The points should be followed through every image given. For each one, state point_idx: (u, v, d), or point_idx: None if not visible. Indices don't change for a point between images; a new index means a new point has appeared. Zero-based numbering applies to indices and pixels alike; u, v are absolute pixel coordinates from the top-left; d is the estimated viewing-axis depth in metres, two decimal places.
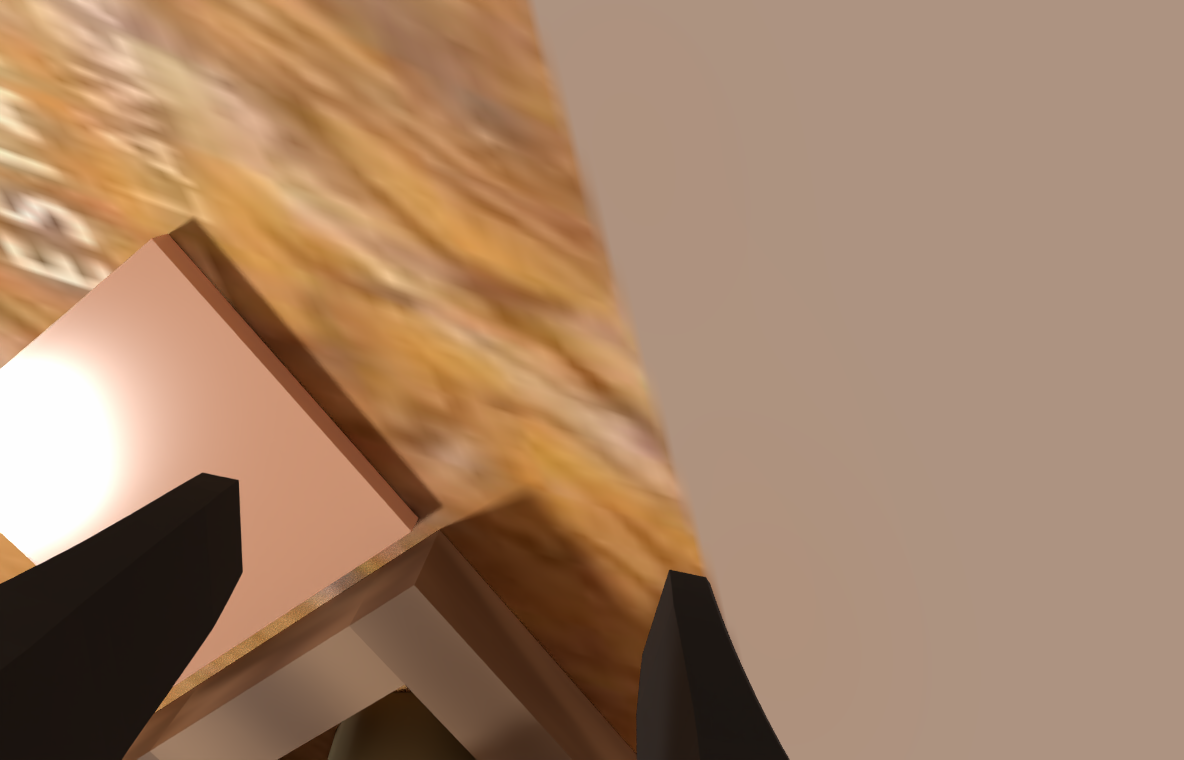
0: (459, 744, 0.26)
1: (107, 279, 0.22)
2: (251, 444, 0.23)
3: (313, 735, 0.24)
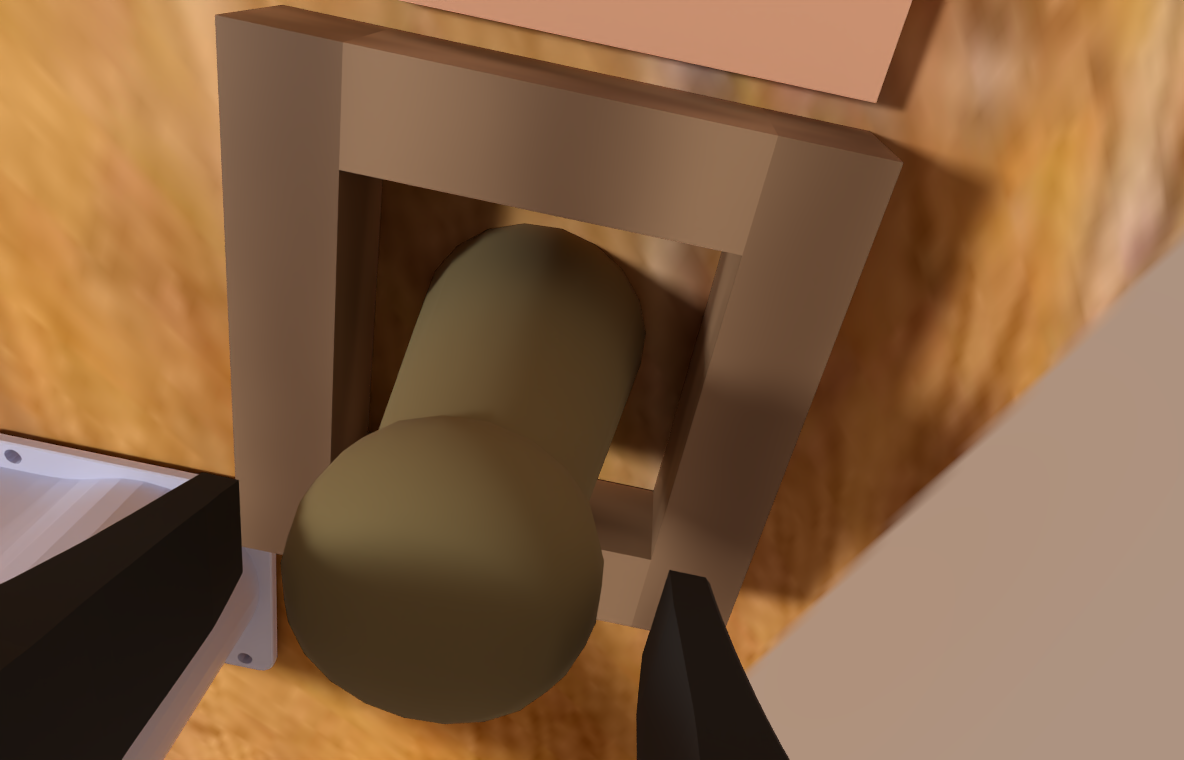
0: (636, 360, 0.20)
1: None
2: None
3: (570, 214, 0.16)
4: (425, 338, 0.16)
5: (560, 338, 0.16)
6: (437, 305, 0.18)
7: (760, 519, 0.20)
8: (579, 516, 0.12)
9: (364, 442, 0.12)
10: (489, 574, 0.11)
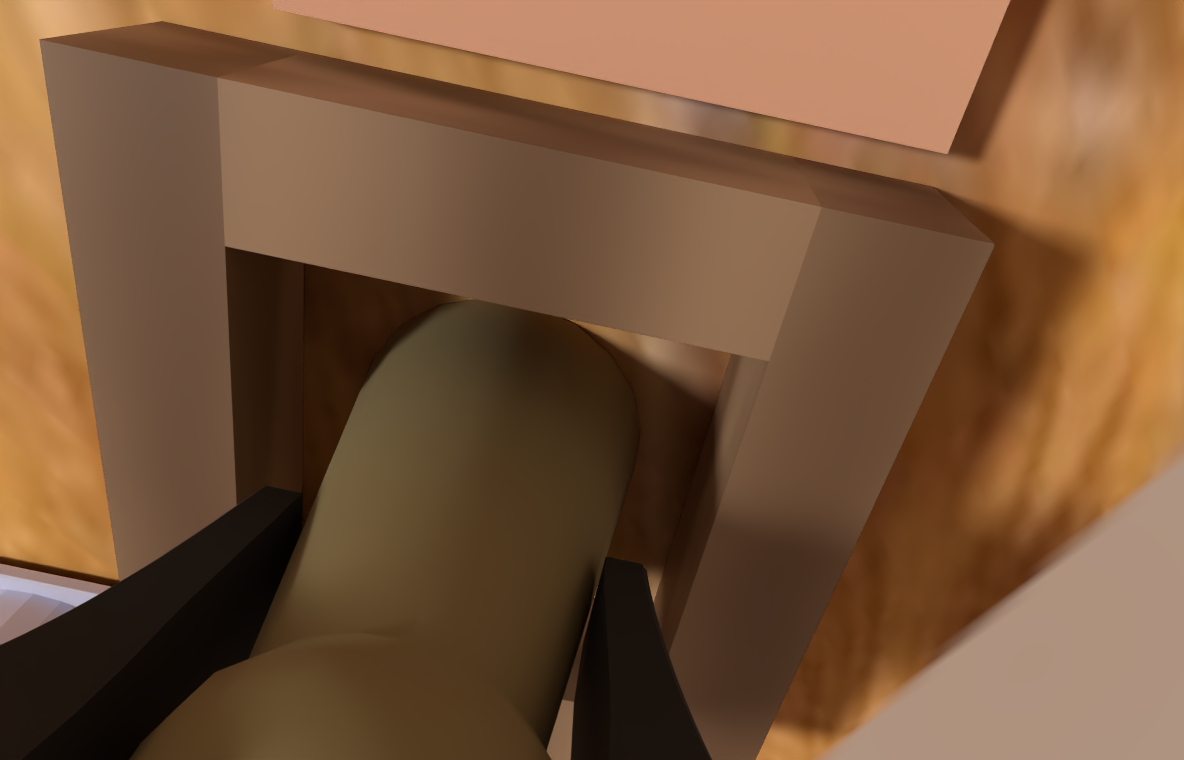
0: (629, 471, 0.16)
1: None
2: None
3: (536, 306, 0.12)
4: (341, 473, 0.12)
5: (522, 476, 0.12)
6: (364, 418, 0.13)
7: (786, 675, 0.15)
8: None
9: (204, 701, 0.08)
10: None
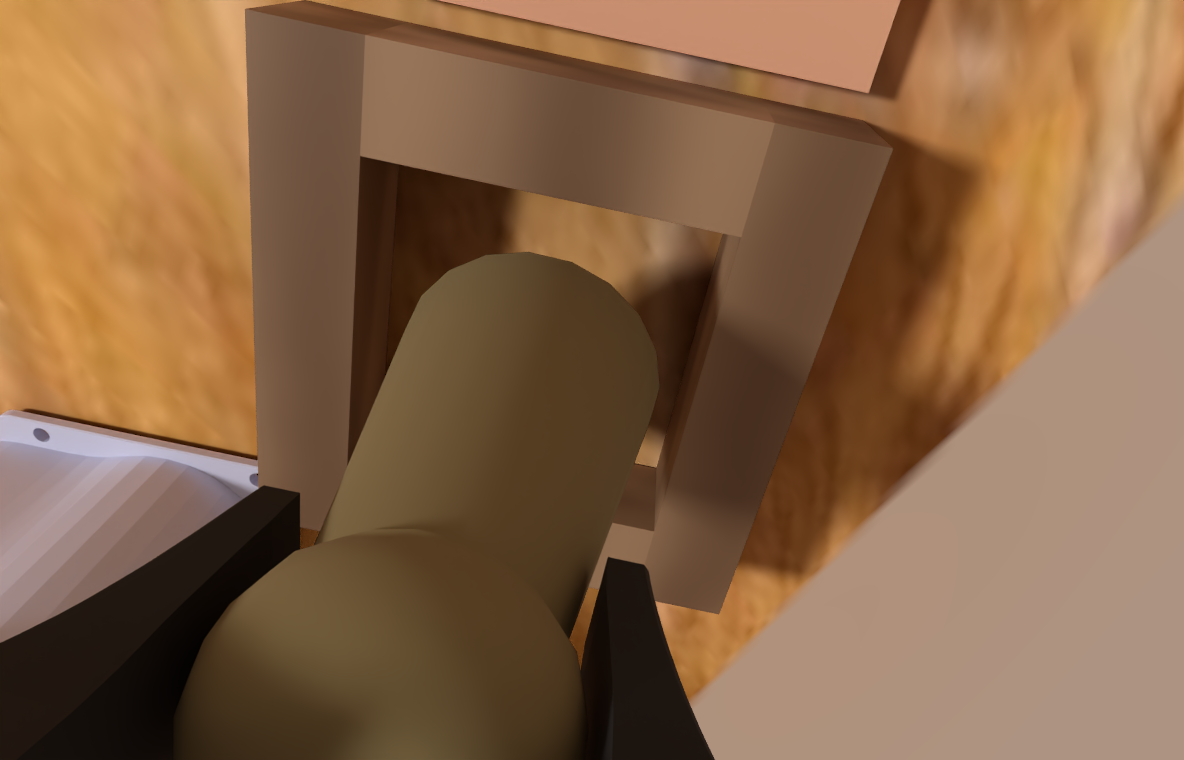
0: (647, 422, 0.17)
1: None
2: None
3: (578, 198, 0.17)
4: (395, 398, 0.14)
5: (558, 413, 0.13)
6: (415, 351, 0.15)
7: (758, 491, 0.21)
8: (561, 688, 0.10)
9: (292, 570, 0.10)
10: None
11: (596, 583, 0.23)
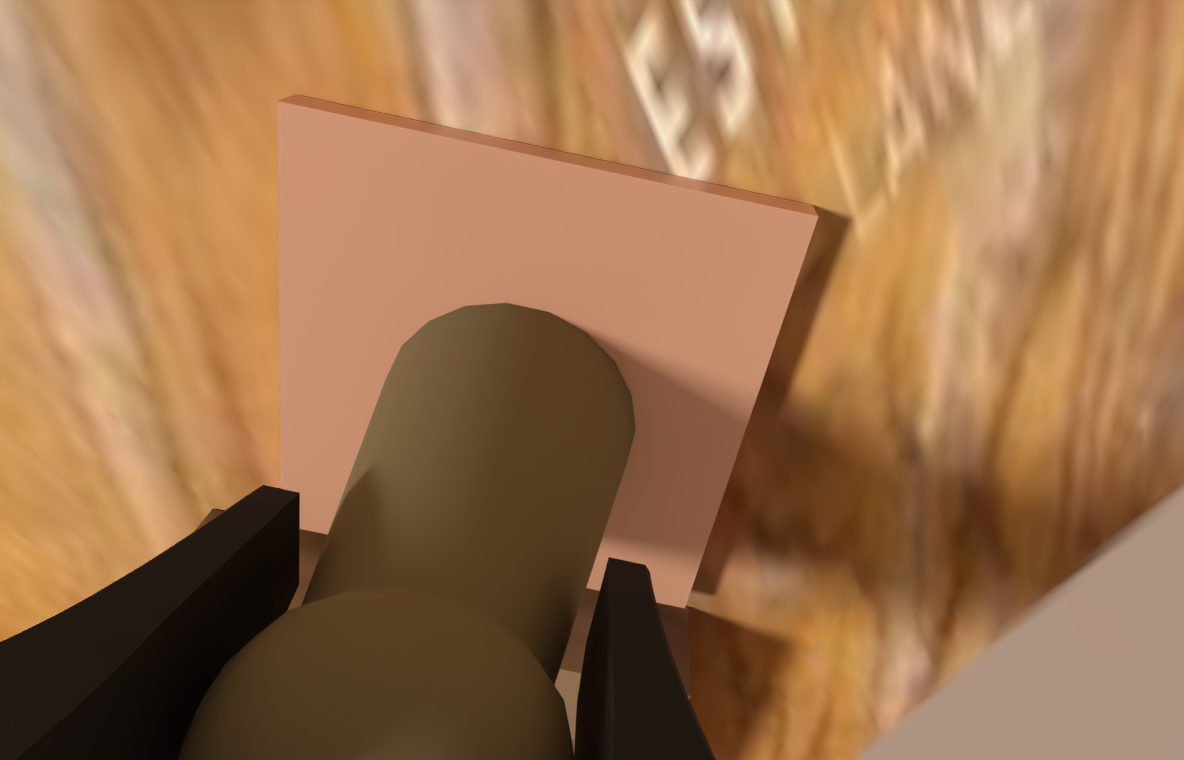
0: (624, 465, 0.18)
1: (726, 199, 0.16)
2: (650, 441, 0.19)
3: None
4: (381, 451, 0.14)
5: (540, 463, 0.14)
6: (399, 404, 0.15)
7: None
8: (551, 737, 0.10)
9: (288, 631, 0.10)
10: None
11: None
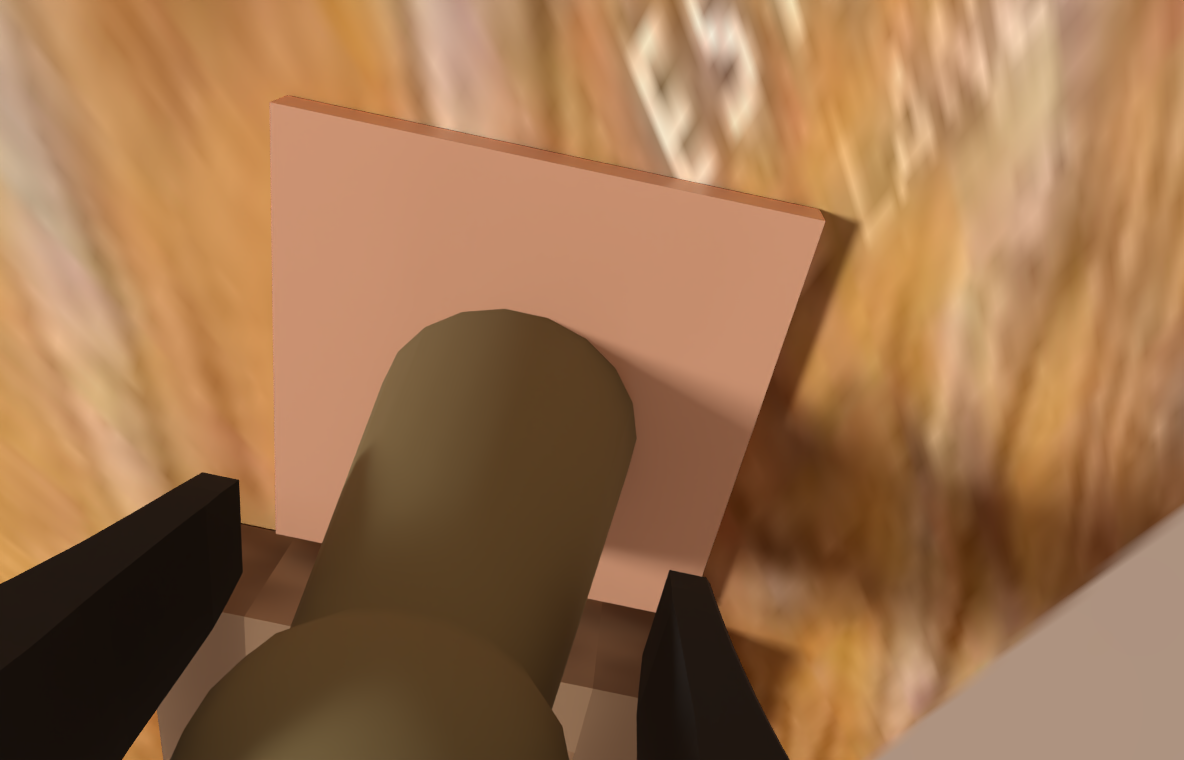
0: (625, 475, 0.17)
1: (730, 203, 0.15)
2: (652, 449, 0.18)
3: None
4: (374, 463, 0.14)
5: (538, 476, 0.13)
6: (393, 414, 0.15)
7: None
8: None
9: (274, 657, 0.09)
10: None
11: None
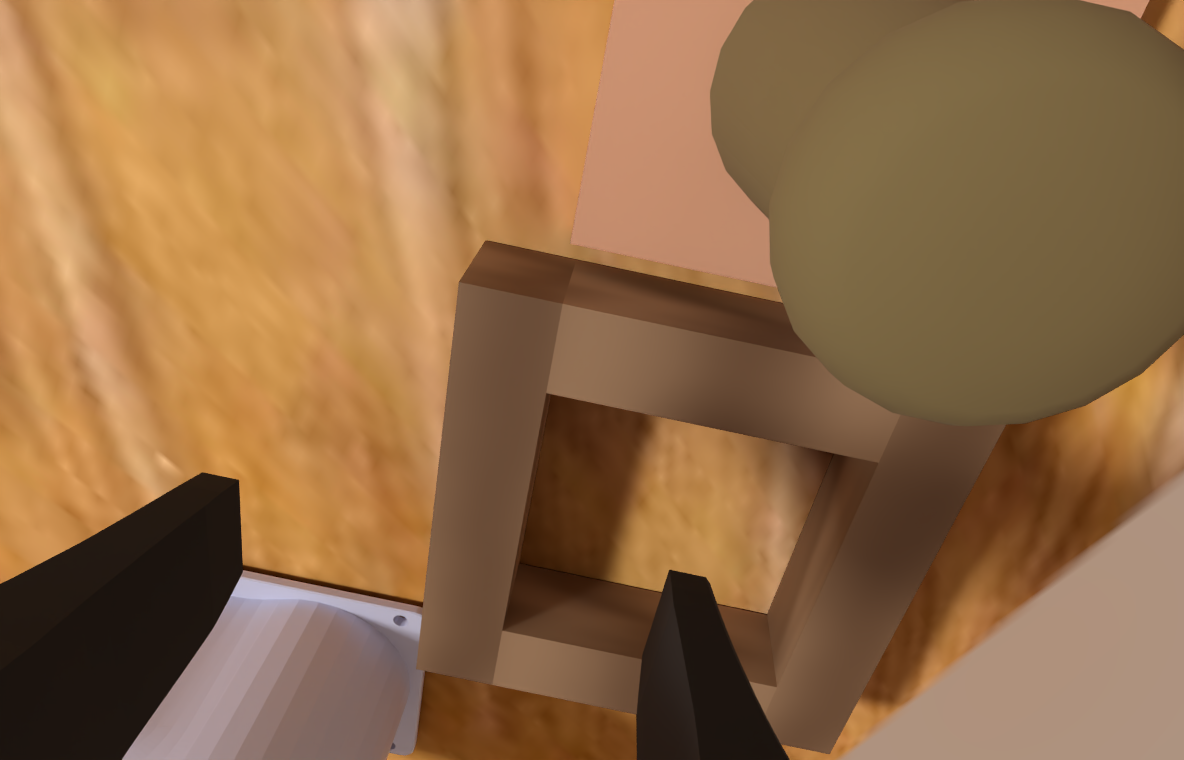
0: None
1: None
2: None
3: (737, 429, 0.20)
4: (829, 15, 0.13)
5: None
6: (813, 0, 0.14)
7: (875, 658, 0.23)
8: None
9: (929, 15, 0.09)
10: None
11: None
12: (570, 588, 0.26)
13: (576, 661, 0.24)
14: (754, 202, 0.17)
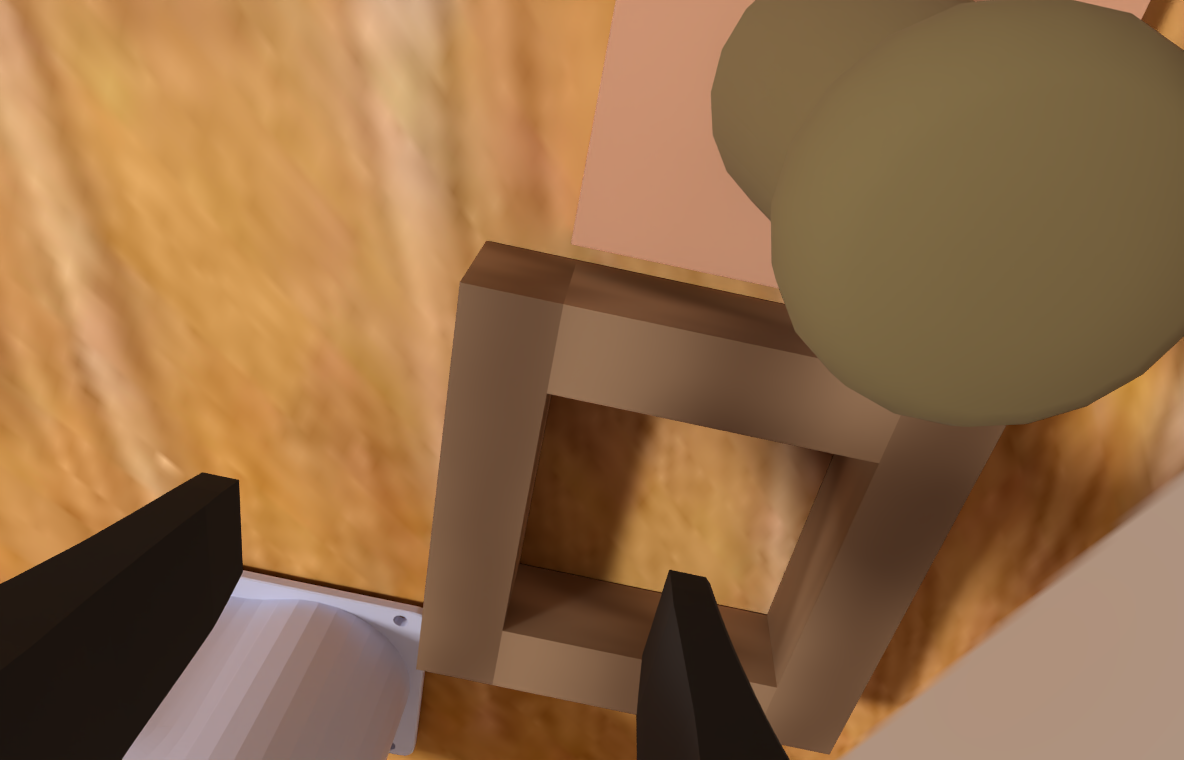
0: None
1: None
2: None
3: (737, 430, 0.20)
4: (831, 16, 0.13)
5: None
6: (814, 1, 0.14)
7: (875, 658, 0.23)
8: None
9: (931, 16, 0.09)
10: None
11: None
12: (570, 588, 0.26)
13: (577, 661, 0.24)
14: (755, 203, 0.17)
